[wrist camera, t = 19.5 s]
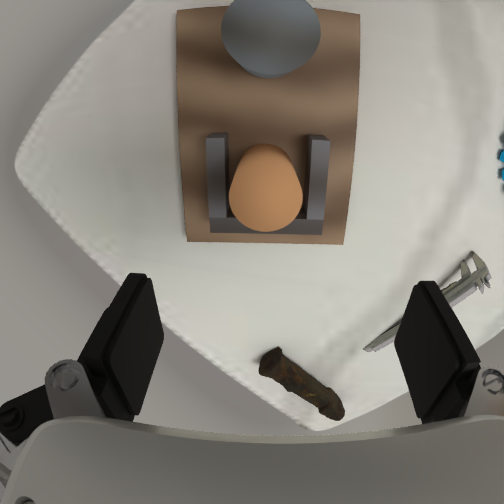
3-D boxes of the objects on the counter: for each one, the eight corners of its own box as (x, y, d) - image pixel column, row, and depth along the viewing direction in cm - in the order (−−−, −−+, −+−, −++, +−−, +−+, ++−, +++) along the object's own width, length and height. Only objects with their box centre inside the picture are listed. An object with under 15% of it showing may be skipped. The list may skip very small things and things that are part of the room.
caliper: (471, 248, 34) (496, 274, 28) (474, 252, 34) (498, 279, 28) (362, 347, 42) (372, 381, 36) (367, 350, 42) (376, 383, 37)
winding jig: (180, 13, 22) (144, -15, 14) (355, 17, 22) (395, -9, 13) (189, 235, 34) (165, 290, 25) (340, 238, 33) (364, 294, 25)
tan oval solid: (236, 144, 27) (227, 162, 20) (293, 143, 27) (303, 162, 20) (238, 196, 30) (230, 231, 23) (292, 196, 30) (301, 231, 23)
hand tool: (256, 355, 43) (256, 381, 39) (279, 342, 42) (280, 369, 38) (327, 407, 50) (330, 429, 46) (347, 398, 48) (351, 420, 44)
